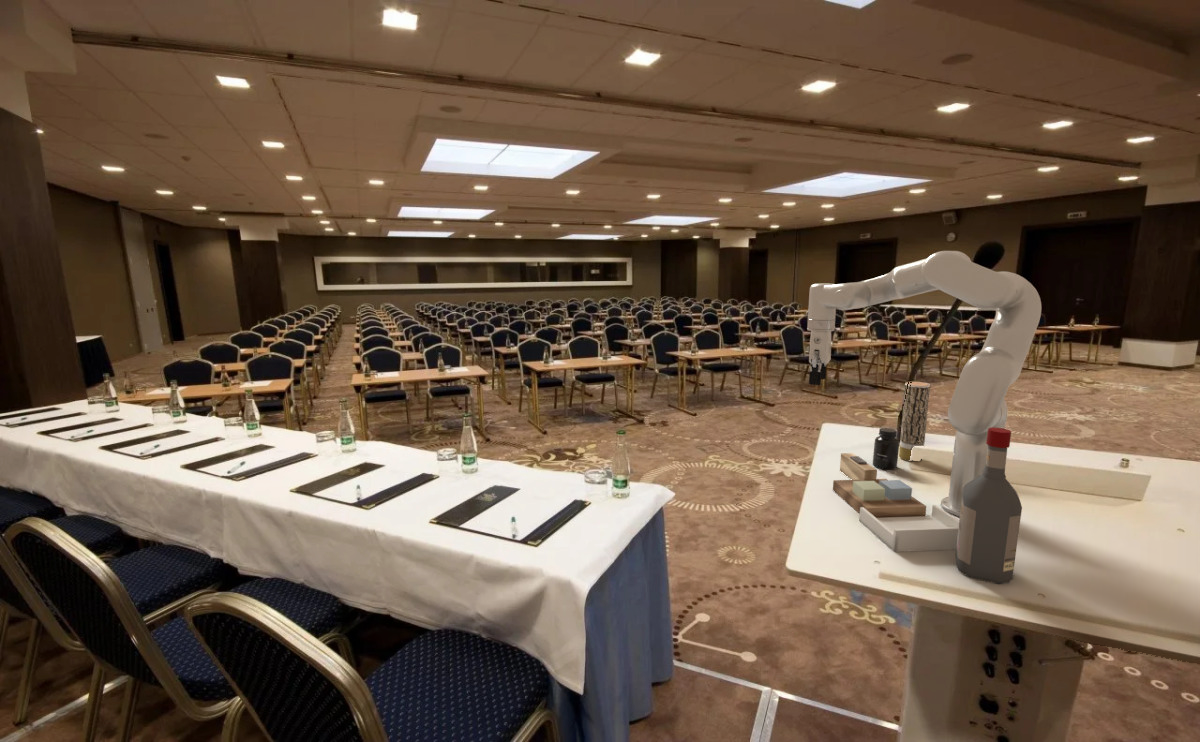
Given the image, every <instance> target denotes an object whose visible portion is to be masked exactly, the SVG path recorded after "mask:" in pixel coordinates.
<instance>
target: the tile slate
mask: <svg viewBox="0 0 1200 742" xmlns="http://www.w3.org/2000/svg"><path fill="white" fill-rule="evenodd" d="M879 485H880V486H882V487H883V488H884V489H885V497H887V498H888V499H889V500H904V499H911V496H912V493H913V487H911V486H910V485H908V484H907V483H906V482H903V481H902V480H901V479H891V480H890V479H889V480H888V479H887V480H883V481H879Z"/></svg>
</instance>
